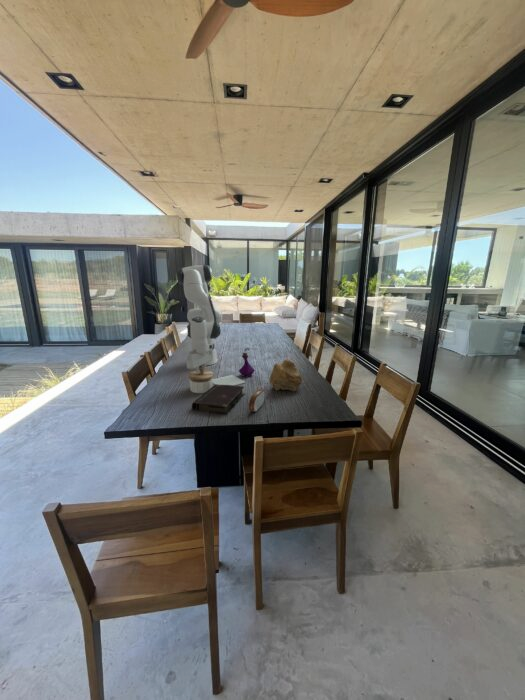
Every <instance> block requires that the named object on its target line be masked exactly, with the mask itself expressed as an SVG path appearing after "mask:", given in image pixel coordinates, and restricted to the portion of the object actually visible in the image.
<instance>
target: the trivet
mask: <svg viewBox="0 0 525 700" xmlns="http://www.w3.org/2000/svg"><path fill="white" fill-rule="evenodd" d="M215 384H218V385H234V386H241V385H244V384H247V382H246V381H244V380H243V379H241V378H239V377H237V376H235V375H233V374H231V375H226V376H222V377H218V378H217V377H216V378H213V385H215Z"/></svg>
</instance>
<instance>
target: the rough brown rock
mask: <svg viewBox="0 0 525 700" xmlns="http://www.w3.org/2000/svg"><path fill="white" fill-rule="evenodd" d="M302 381H303V377H302V374H300V373H299V371H298V368H297V367H296V364H295V363H294V361H292V360H291V359H288V358H285V359H284V360H283V361H282V363H281V364H279V363H278V362H275V363H274V365H273V368H272V370H271V373H270V377H269V384H272V386H273V389H274V391H280V390H282V391H286V390H288V391H291V392H296V391H297V390H298V388H299V387H300V385H301V384H302Z"/></svg>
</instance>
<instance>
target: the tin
mask: <svg viewBox="0 0 525 700" xmlns="http://www.w3.org/2000/svg"><path fill="white" fill-rule="evenodd" d="M265 398H266V391H265V389H262V388H258V389H257V390H256V391H254V392H253V393H252V395H251V396H250V399H249V402H248V411H250V412H257V411H259V409H260V408H261V407H262V406H263V404H264V402H265Z"/></svg>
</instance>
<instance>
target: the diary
mask: <svg viewBox="0 0 525 700" xmlns="http://www.w3.org/2000/svg"><path fill="white" fill-rule="evenodd" d="M244 388H245V386H243V385H242V386H241V385H236V386H234V385H218V384H213V387H212V388H210V389H209V390H208V391H206V392H205V393H202V395H200V396H199V397H198V398H197V399H196V400H194V401H193V402H192V403H191V409H192V411H194V410H197V411H198V410H199V411H203V412H208V413H210V414H217V415H223V416H225V415H228V414H229V413H230V412H231V411H232V410H233V408H234V407H236V405H237V404H238V403H239V401H240V399H243V397H244V396H245V395H246V394H245V393H243V390H244Z"/></svg>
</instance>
